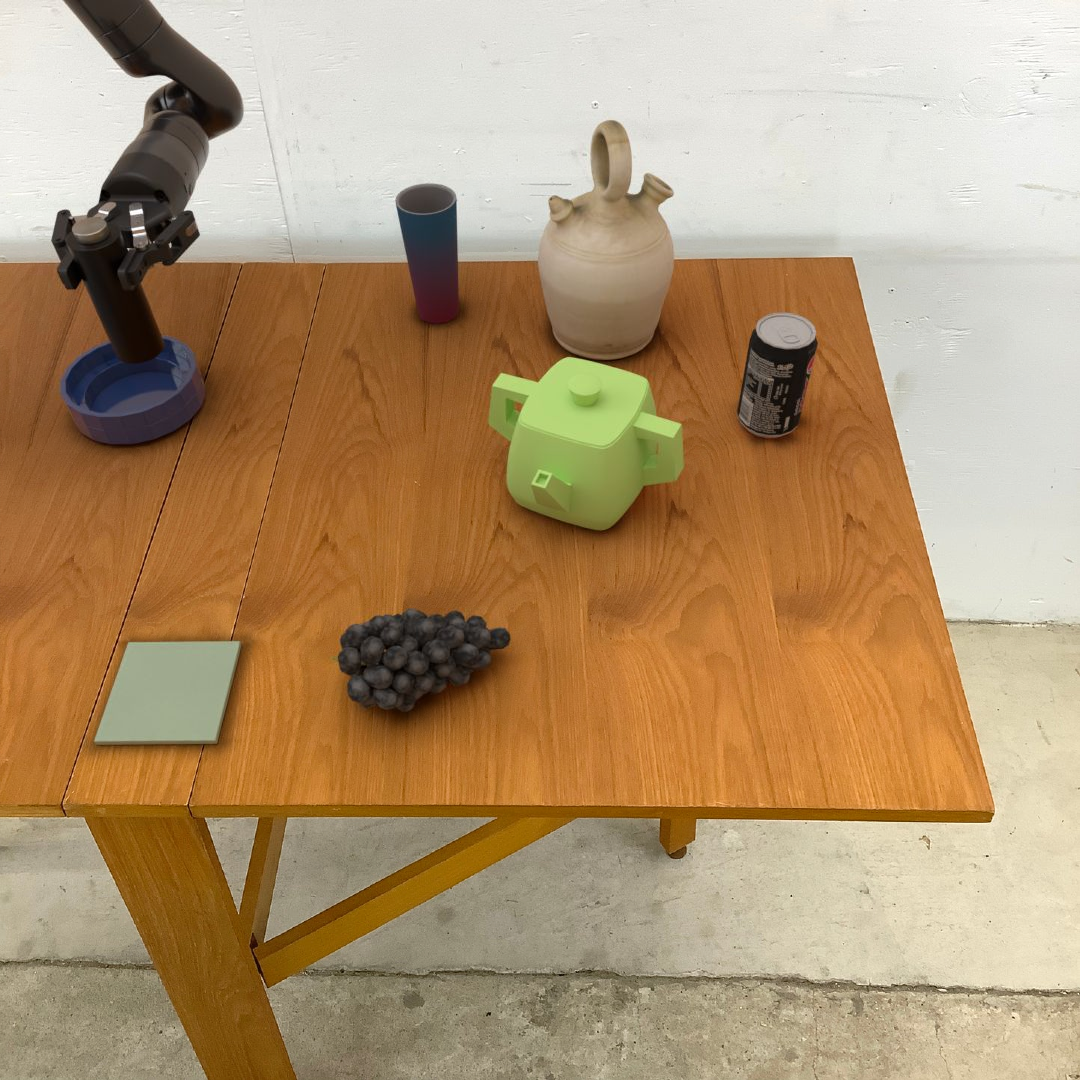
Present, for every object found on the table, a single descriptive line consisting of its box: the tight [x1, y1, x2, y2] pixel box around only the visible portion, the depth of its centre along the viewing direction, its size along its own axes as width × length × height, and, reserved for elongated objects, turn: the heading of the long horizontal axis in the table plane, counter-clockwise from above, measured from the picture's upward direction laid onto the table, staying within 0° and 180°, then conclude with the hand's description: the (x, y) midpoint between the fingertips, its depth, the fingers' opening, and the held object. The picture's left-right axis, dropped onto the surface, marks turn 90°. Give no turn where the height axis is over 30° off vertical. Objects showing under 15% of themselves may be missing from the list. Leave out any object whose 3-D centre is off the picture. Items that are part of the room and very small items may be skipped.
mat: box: [93, 640, 243, 746], centre depth 84 cm, size 10×10×1 cm
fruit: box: [330, 608, 512, 713], centre depth 81 cm, size 9×8×15 cm
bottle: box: [66, 217, 164, 364], centre depth 94 cm, size 5×5×14 cm
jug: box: [537, 119, 675, 361], centre depth 108 cm, size 15×16×25 cm
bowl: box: [59, 334, 207, 445], centre depth 108 cm, size 14×14×4 cm
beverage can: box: [736, 311, 819, 439], centre depth 101 cm, size 7×7×12 cm
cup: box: [395, 182, 460, 325], centre depth 115 cm, size 7×7×15 cm
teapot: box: [487, 356, 685, 531], centre depth 94 cm, size 18×20×13 cm
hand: (95, 281), depth 90 cm, fingers closed on bottle, 5 cm apart
